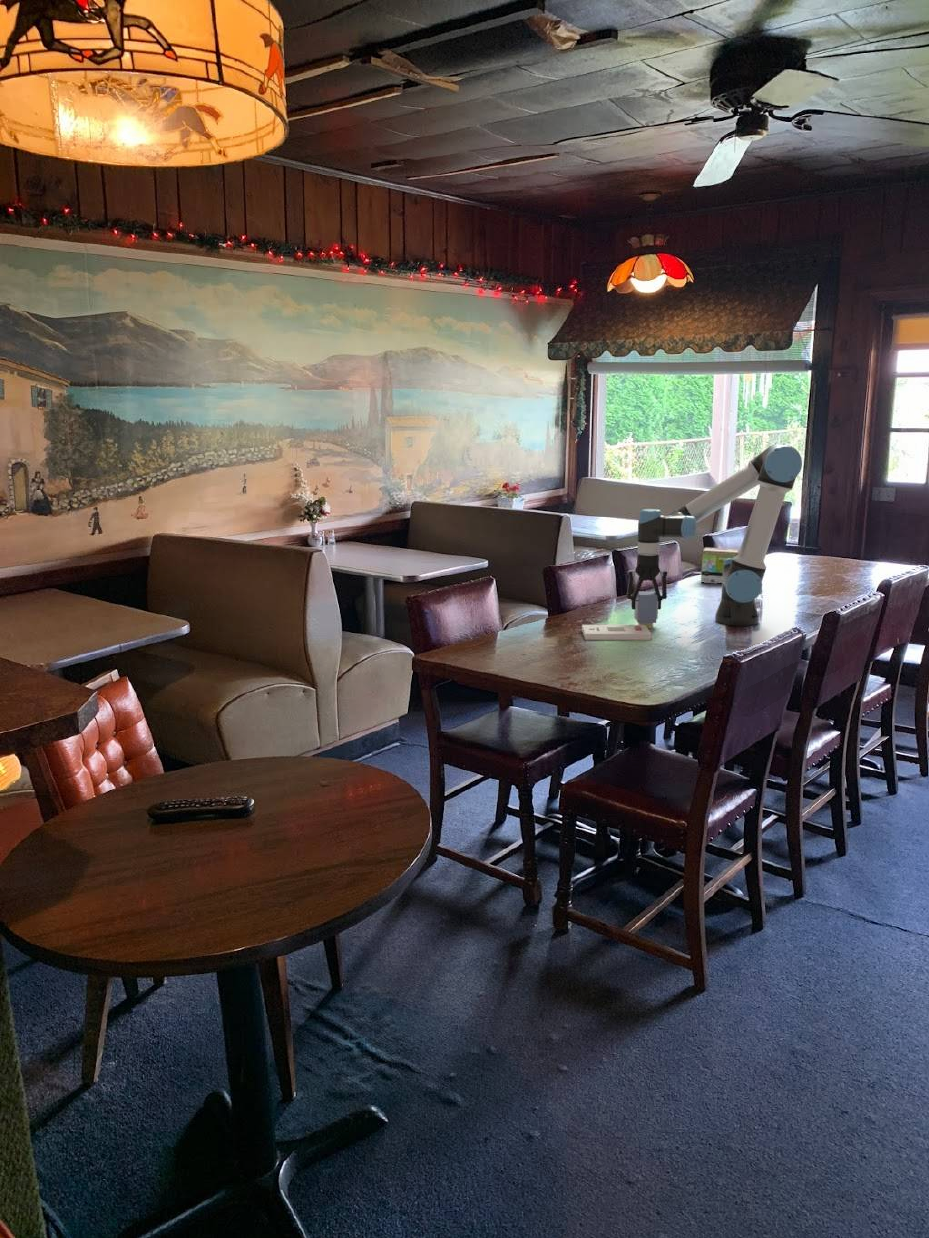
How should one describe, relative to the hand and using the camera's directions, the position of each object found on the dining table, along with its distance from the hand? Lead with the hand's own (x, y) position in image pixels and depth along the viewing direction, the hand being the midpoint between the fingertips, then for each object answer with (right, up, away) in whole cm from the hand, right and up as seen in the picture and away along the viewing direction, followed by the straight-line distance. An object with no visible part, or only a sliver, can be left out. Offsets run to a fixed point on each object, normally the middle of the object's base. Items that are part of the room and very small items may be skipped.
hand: (645, 618), depth 331 cm
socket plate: (-12, -6, -12) cm, 18 cm away
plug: (0, -3, +1) cm, 3 cm away
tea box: (+48, +16, +82) cm, 96 cm away
